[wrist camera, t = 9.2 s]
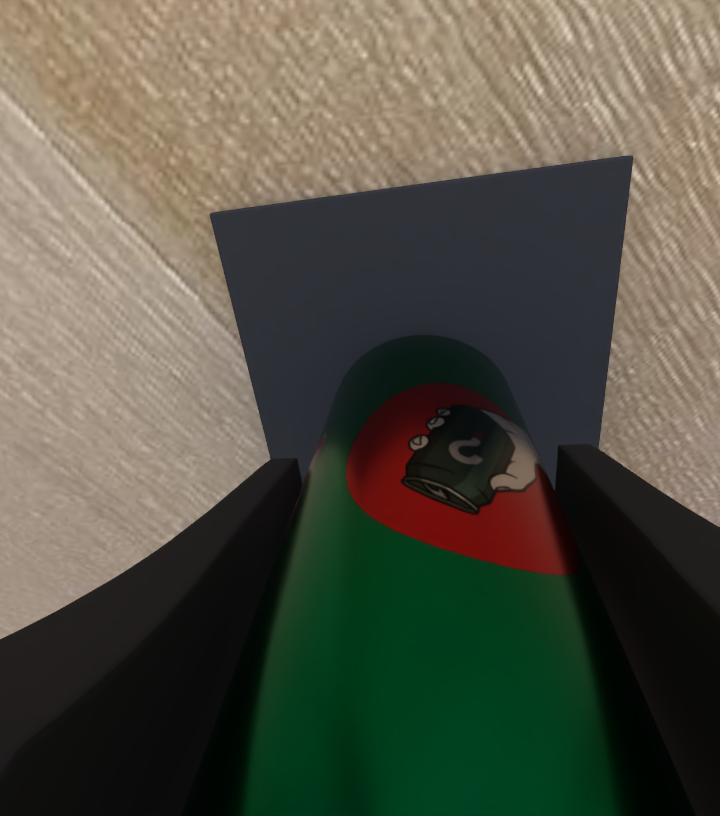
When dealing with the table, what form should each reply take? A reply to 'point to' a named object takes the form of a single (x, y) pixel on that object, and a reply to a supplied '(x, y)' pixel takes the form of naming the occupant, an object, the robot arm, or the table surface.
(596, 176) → the mat
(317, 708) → the soda can
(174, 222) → the table surface
